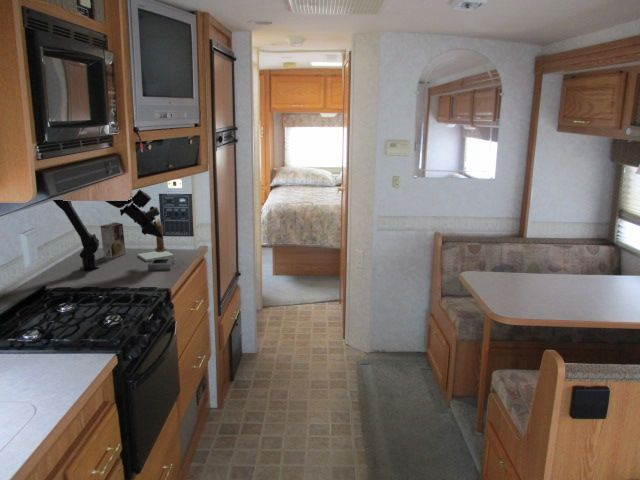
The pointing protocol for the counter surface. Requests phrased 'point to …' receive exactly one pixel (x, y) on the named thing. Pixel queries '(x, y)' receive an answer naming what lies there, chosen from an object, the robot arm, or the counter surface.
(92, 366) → the counter surface
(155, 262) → the lock plate
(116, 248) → the coffee box
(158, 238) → the brown wooden column
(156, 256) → the pale green flat slab
